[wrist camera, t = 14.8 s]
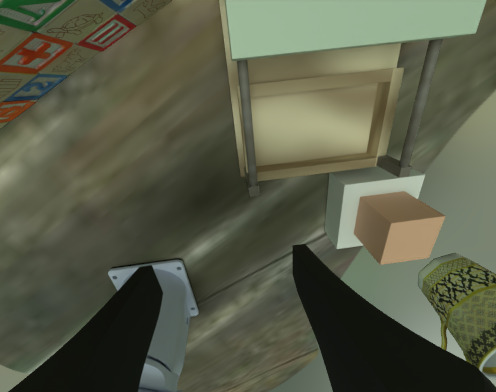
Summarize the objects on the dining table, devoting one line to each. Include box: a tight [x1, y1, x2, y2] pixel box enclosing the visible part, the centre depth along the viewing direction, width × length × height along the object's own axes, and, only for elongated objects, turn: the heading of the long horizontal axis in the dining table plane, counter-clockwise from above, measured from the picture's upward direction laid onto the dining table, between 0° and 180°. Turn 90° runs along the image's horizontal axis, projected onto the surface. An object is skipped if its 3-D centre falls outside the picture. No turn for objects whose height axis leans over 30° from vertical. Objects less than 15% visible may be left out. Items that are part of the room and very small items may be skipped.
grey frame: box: [219, 0, 443, 197], centre depth 15 cm, size 13×13×5 cm
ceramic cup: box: [418, 253, 496, 379], centre depth 25 cm, size 13×10×10 cm
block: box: [354, 191, 445, 265], centre depth 18 cm, size 4×4×4 cm
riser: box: [324, 166, 425, 249], centre depth 21 cm, size 7×7×3 cm
